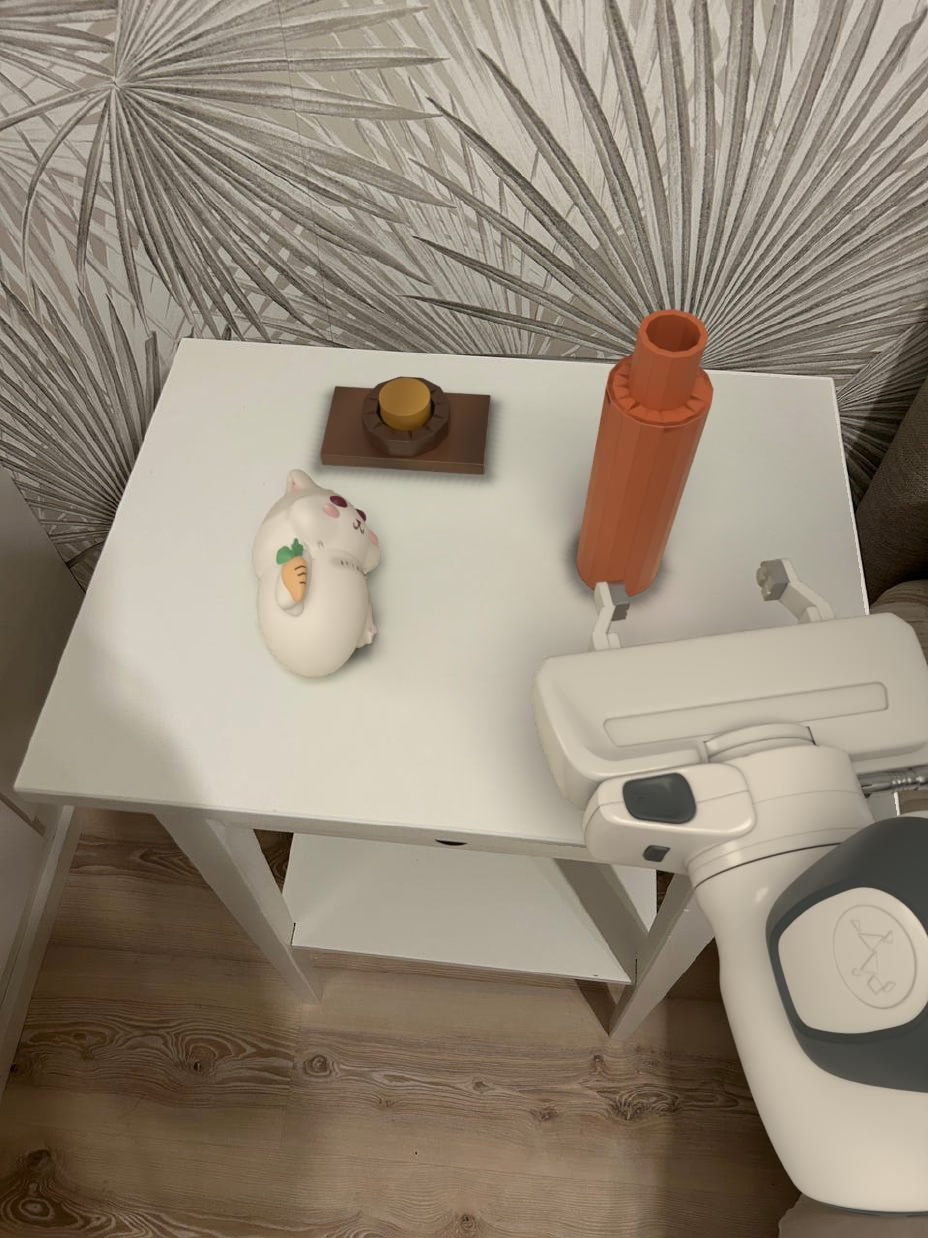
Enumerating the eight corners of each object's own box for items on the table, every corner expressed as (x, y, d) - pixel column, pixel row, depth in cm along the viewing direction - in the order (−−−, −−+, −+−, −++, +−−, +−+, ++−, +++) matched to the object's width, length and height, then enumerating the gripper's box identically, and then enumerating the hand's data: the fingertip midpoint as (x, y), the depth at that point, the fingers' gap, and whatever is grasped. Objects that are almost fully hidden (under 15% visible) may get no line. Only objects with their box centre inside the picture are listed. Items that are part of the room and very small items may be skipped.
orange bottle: (645, 526, 68) (712, 288, 49) (666, 591, 65) (745, 366, 46) (568, 535, 68) (605, 300, 49) (585, 602, 65) (631, 379, 46)
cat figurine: (312, 636, 53) (307, 426, 59) (213, 670, 56) (217, 469, 62) (404, 676, 60) (391, 487, 66) (312, 704, 64) (307, 522, 70)
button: (433, 394, 72) (432, 378, 70) (428, 432, 70) (427, 416, 68) (384, 391, 72) (382, 375, 70) (377, 429, 70) (375, 413, 68)
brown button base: (490, 404, 75) (491, 378, 72) (483, 474, 71) (483, 449, 68) (336, 395, 75) (331, 369, 73) (322, 464, 72) (316, 439, 69)
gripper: (1005, 758, 41) (890, 519, 48) (569, 822, 40) (515, 566, 47) (943, 803, 47) (847, 582, 53) (557, 860, 45) (511, 626, 52)
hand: (690, 575), depth 50 cm, fingers open, 8 cm apart
